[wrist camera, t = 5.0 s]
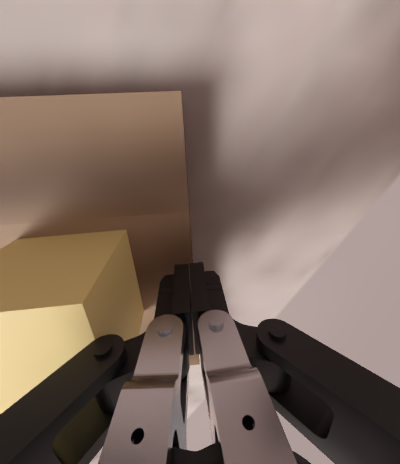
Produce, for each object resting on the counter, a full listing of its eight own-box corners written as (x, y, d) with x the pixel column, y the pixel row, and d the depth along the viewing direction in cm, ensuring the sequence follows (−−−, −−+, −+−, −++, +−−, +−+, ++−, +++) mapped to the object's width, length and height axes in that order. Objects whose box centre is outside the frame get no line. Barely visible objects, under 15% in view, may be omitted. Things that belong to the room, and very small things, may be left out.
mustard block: (16, 239, 11) (-123, 324, 6) (126, 229, 11) (82, 303, 6) (53, 320, 13) (-26, 432, 8) (144, 310, 13) (121, 414, 8)
